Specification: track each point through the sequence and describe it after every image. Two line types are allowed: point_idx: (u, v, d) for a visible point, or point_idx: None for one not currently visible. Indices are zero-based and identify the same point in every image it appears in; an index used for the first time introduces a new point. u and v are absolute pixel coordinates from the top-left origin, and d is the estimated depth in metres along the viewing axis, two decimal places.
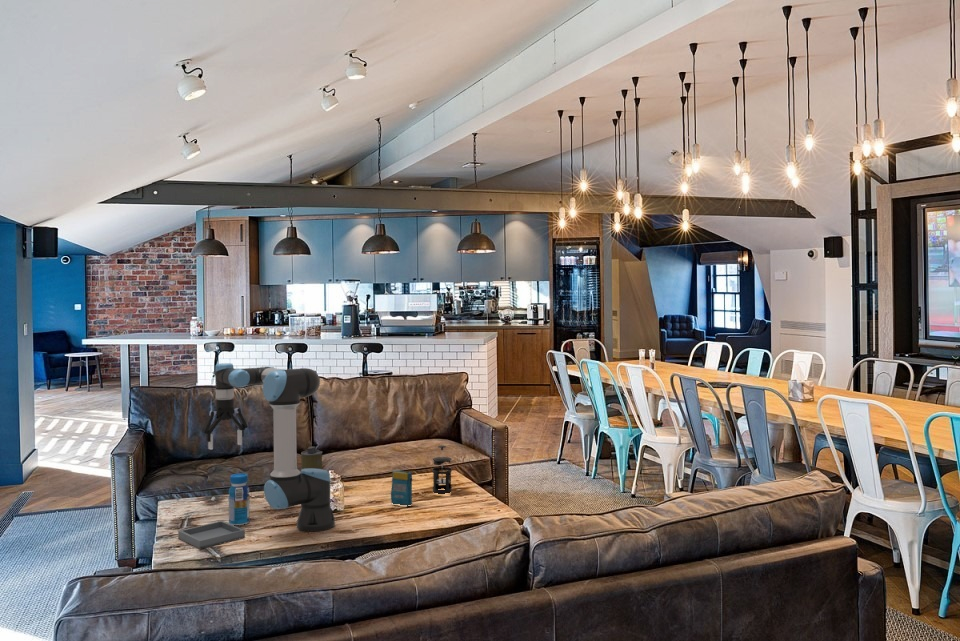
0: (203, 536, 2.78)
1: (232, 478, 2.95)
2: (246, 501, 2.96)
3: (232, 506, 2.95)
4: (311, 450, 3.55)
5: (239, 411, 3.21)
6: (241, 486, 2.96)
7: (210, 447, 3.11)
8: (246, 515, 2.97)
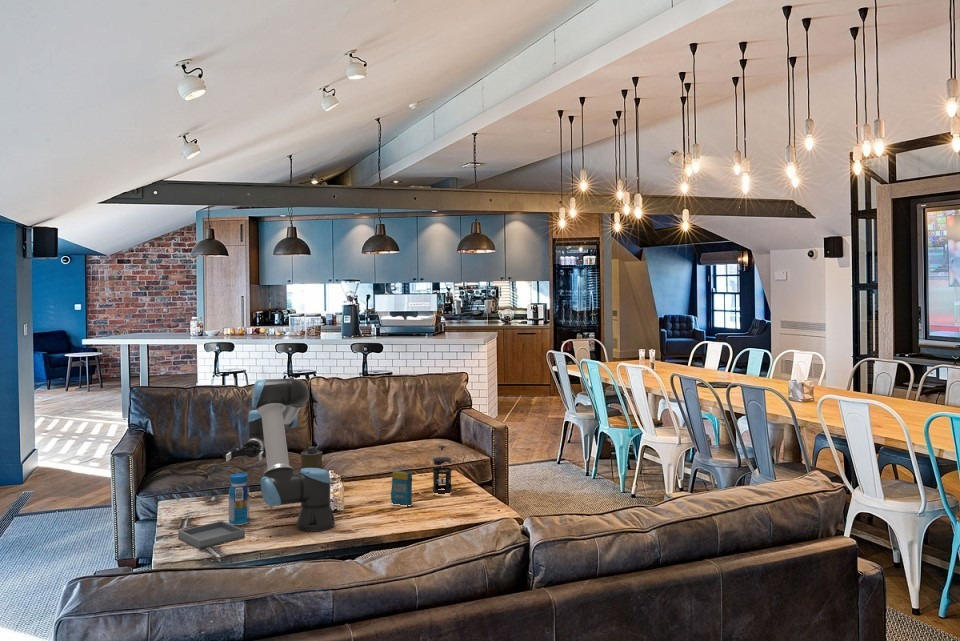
0: (203, 536, 2.78)
1: (232, 478, 2.95)
2: (246, 501, 2.96)
3: (232, 506, 2.95)
4: (311, 450, 3.55)
5: (264, 447, 3.23)
6: (241, 486, 2.96)
7: None
8: (246, 515, 2.97)
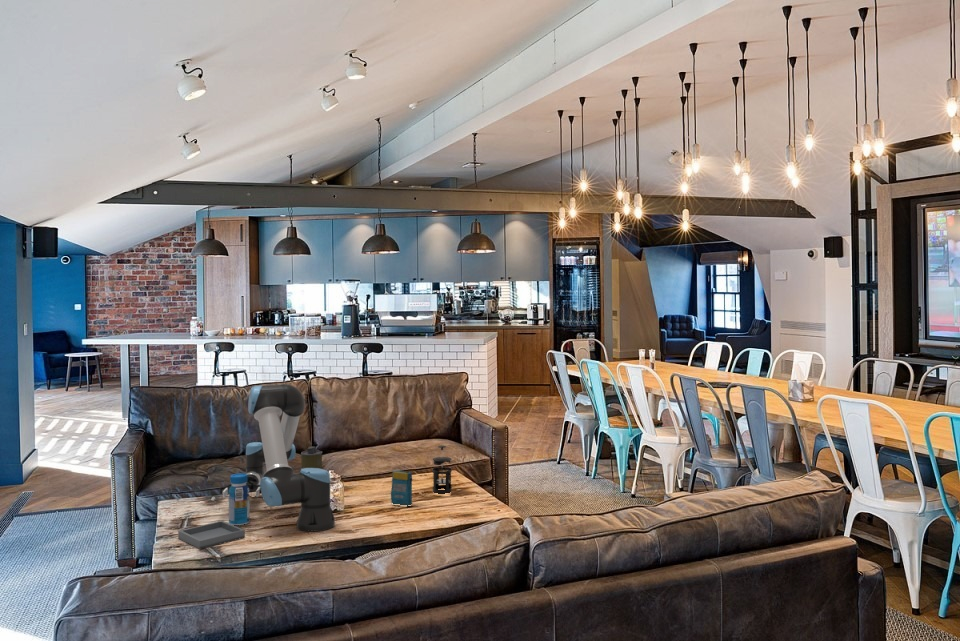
0: (203, 536, 2.78)
1: (232, 478, 2.95)
2: (246, 501, 2.96)
3: (232, 506, 2.95)
4: (311, 450, 3.55)
5: None
6: (241, 486, 2.96)
7: None
8: (246, 515, 2.97)
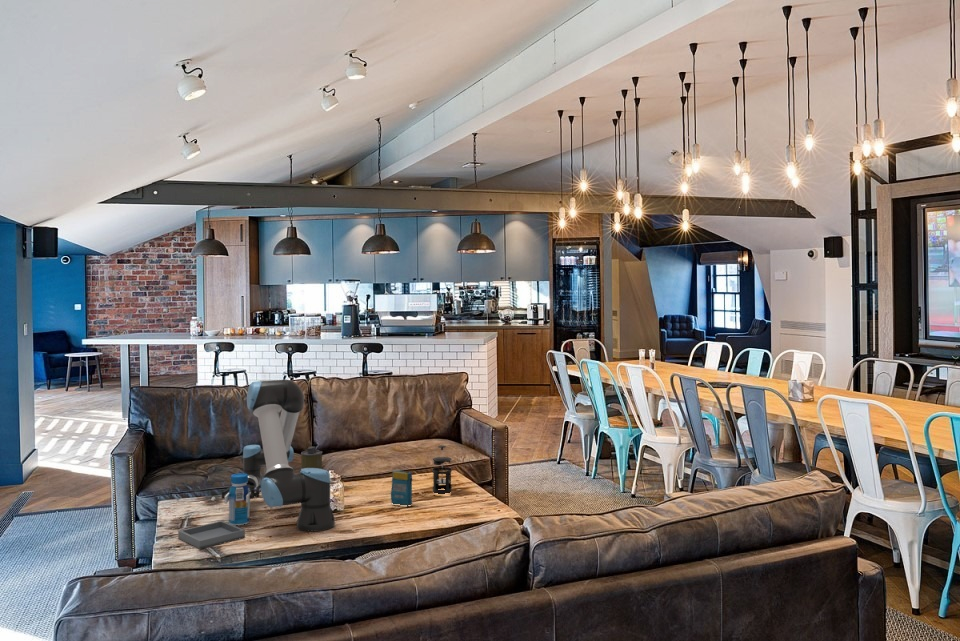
0: (203, 536, 2.78)
1: (233, 478, 2.95)
2: None
3: (232, 506, 2.95)
4: (311, 450, 3.55)
5: (258, 486, 3.10)
6: (241, 486, 2.96)
7: None
8: (246, 515, 2.97)
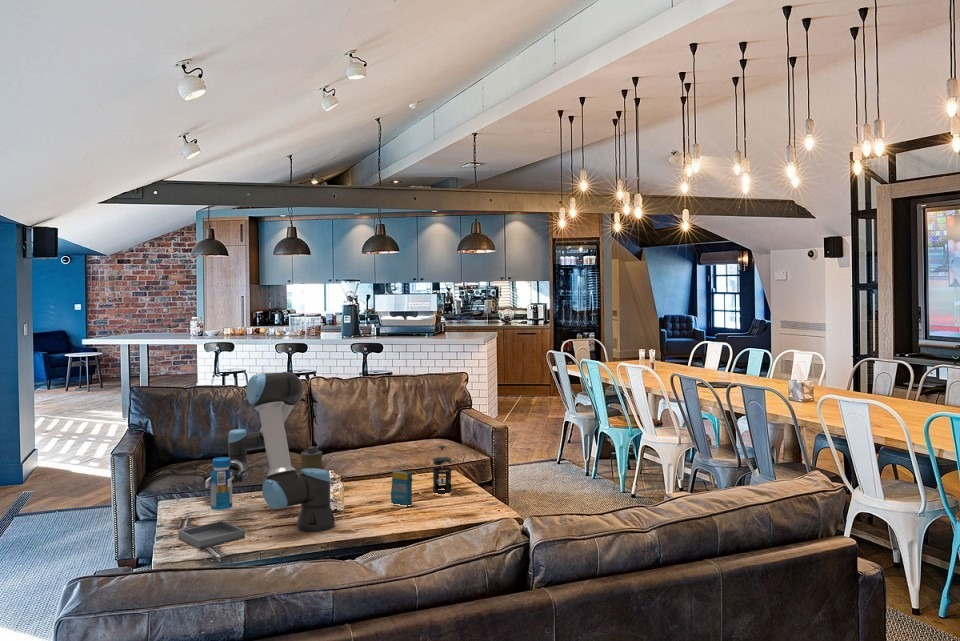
0: (203, 536, 2.78)
1: (214, 462, 2.85)
2: None
3: (213, 490, 2.85)
4: (311, 450, 3.55)
5: (242, 471, 3.00)
6: (223, 470, 2.86)
7: None
8: (228, 500, 2.87)
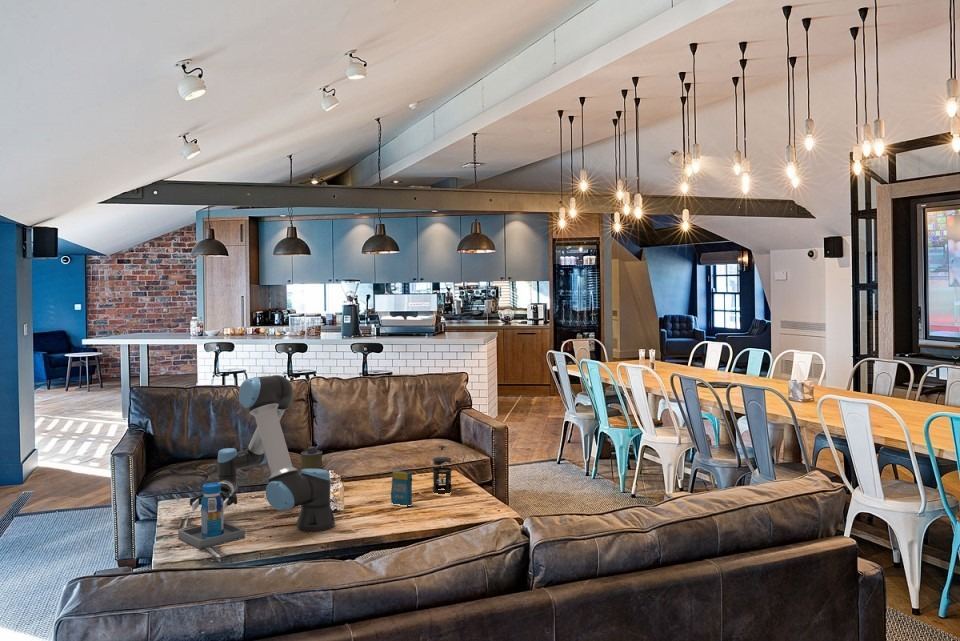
0: None
1: (204, 488, 2.76)
2: (220, 512, 2.77)
3: (204, 518, 2.76)
4: (311, 450, 3.55)
5: (234, 492, 2.91)
6: (214, 496, 2.77)
7: None
8: (220, 527, 2.78)
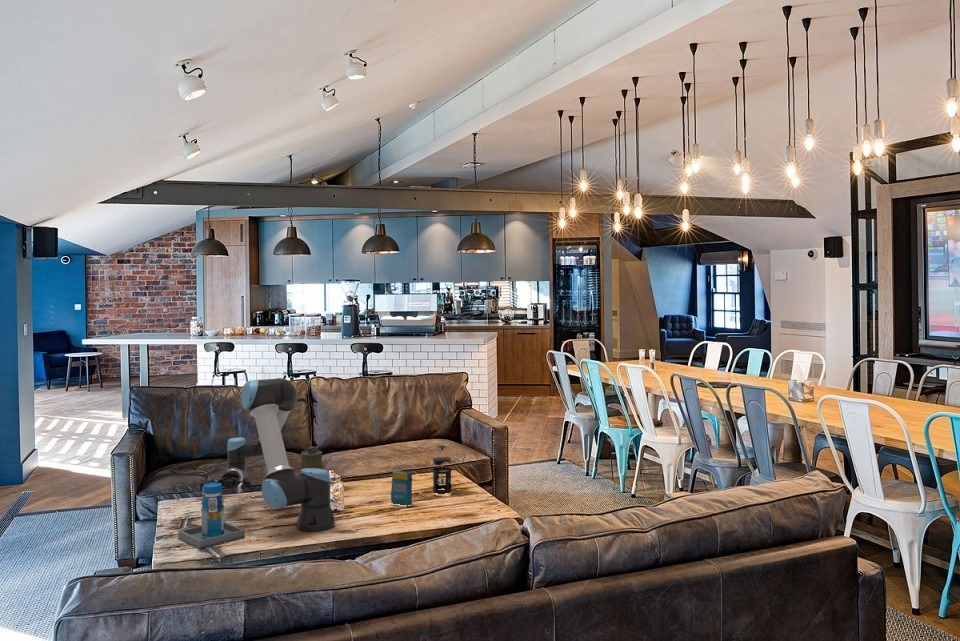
0: None
1: (205, 488, 2.76)
2: (220, 512, 2.77)
3: (205, 517, 2.76)
4: (311, 450, 3.55)
5: (244, 478, 3.07)
6: (215, 496, 2.77)
7: None
8: (220, 527, 2.78)
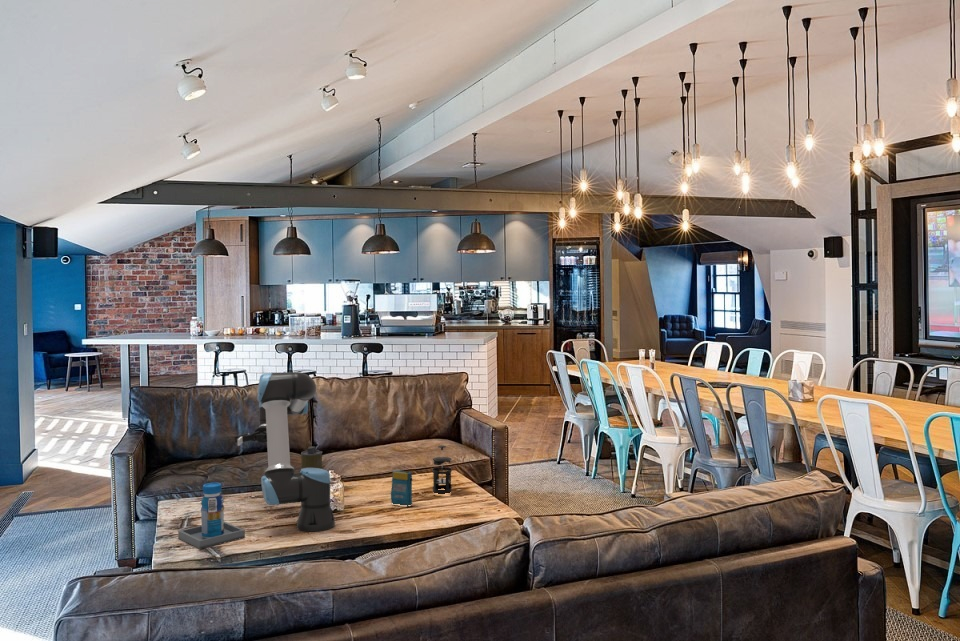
0: None
1: (205, 488, 2.76)
2: (220, 512, 2.77)
3: (204, 518, 2.76)
4: (311, 450, 3.55)
5: None
6: (214, 496, 2.77)
7: None
8: (220, 527, 2.78)
